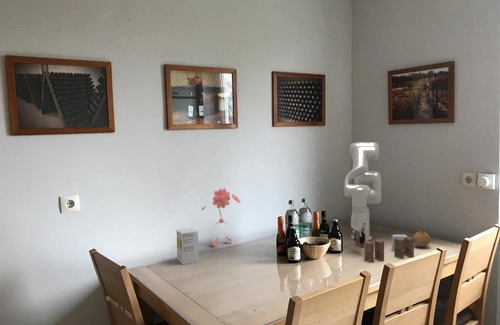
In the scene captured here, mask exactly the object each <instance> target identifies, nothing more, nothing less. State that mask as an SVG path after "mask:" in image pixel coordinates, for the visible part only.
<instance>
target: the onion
mask: <svg viewBox="0 0 500 325" xmlns="http://www.w3.org/2000/svg"><path fill="white" fill-rule="evenodd" d="M412 238H413V239H414V246H416V247H418V248H424V247H427V246H429V245H430V244H431V236H430V235H429V234H428V233H427V232H425V231H424V230H419V231H417V232H415V233H414V234H413V236H412Z"/></svg>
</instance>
